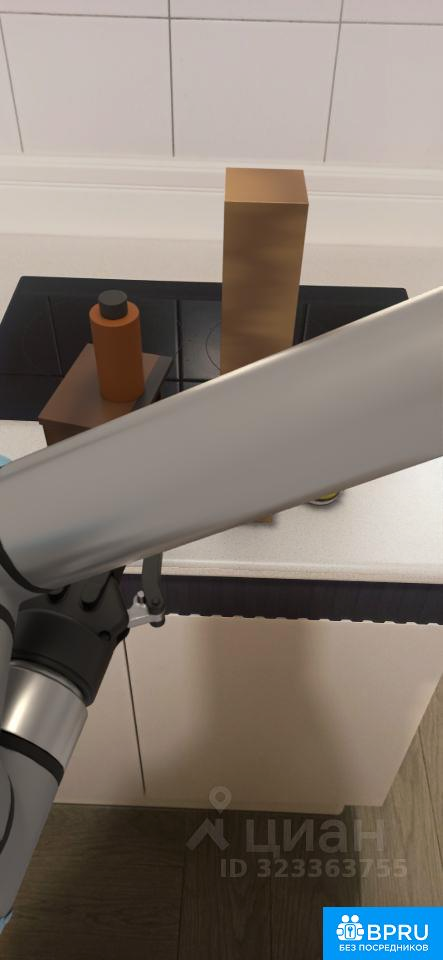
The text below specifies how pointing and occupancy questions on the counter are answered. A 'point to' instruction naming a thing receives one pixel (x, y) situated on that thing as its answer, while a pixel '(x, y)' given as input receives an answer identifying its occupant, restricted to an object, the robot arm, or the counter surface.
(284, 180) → the stand
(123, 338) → the amber bottle
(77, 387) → the cabinet
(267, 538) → the counter surface
